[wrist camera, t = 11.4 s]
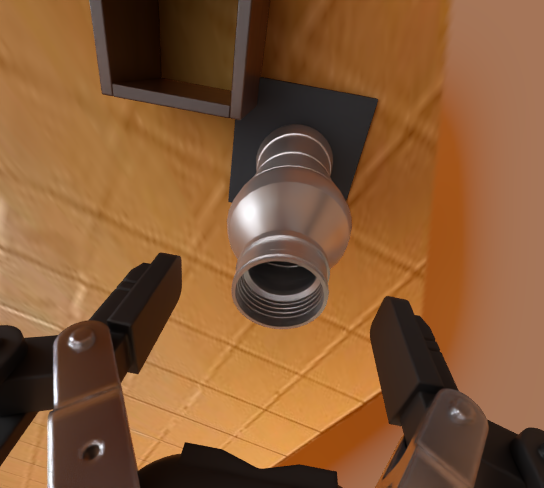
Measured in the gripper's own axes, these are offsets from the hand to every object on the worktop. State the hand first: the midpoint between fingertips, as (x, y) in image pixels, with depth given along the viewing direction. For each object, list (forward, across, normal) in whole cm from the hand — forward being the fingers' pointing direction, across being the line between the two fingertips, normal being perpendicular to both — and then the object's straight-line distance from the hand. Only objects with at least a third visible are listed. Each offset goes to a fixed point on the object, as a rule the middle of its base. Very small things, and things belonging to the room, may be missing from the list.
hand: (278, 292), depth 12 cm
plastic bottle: (+20, 0, 0) cm, 20 cm away
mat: (+20, 0, 0) cm, 20 cm away
